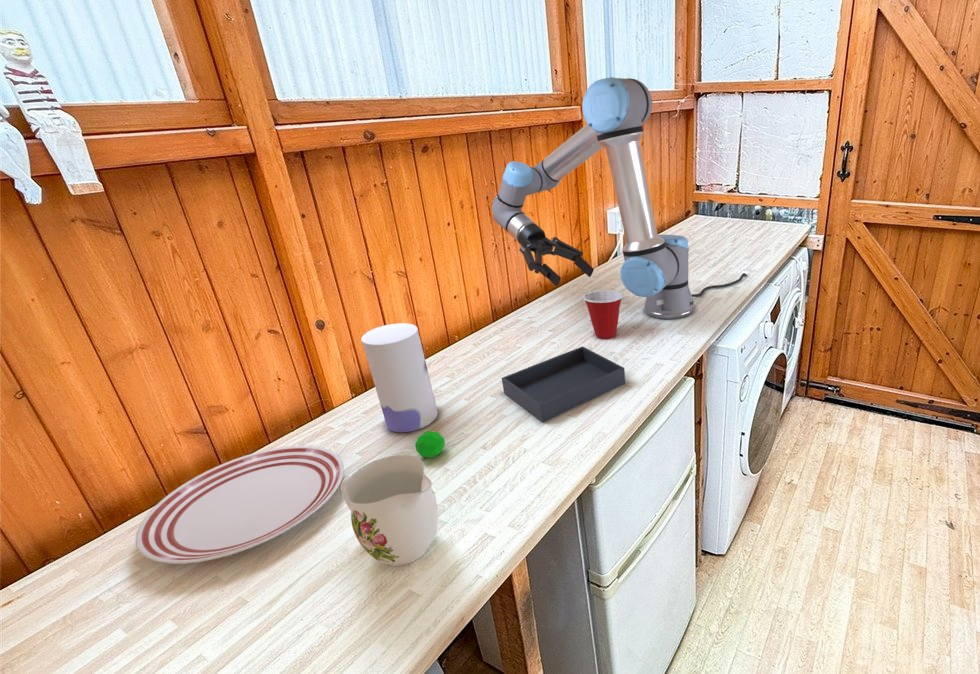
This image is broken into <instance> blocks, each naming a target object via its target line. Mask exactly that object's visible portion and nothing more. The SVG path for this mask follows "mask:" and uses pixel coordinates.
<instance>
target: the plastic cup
mask: <svg viewBox="0 0 980 674" xmlns="http://www.w3.org/2000/svg"><path fill="white" fill-rule="evenodd" d="M623 297H624V293H622V292H621V291H619V290H618V291H617V290H610V289H609V290H608V289H606V290H595V291H590V292H587V293H585V294H583V296H582V299H583V300H584V302H585V305H586V308H587V310H588V314H589V318H590V322H591V326H592V328H593V332H594V336H595V337H596V338H597V339H600V340H610V339H613V338H615V337H616V336H617V333H618V332H617V331H618V324H619V316H620V308H621V303H622V299H623Z"/></svg>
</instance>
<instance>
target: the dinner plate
mask: <svg viewBox="0 0 980 674" xmlns="http://www.w3.org/2000/svg"><path fill="white" fill-rule="evenodd" d="M344 467H345V466H344V463H343V460H342V459H341V458H340V456H339V455H338V454H336V453H335V452H334V451H332V450H330V449H327V448H325V447H320V446H313V445H289V446H280V447H274V448H270V449H264V450H261V451H256V452H253V453H250V454H247V455H243V456H241V457H237V458H235V459H232V460H229V461H227V462H224V463H222V464H219V465H217V466H215V467H212V468H211V469H208V470H206V471H205V472H202V473H200V474H199V475H197V476H194V477H193V478H191V479H190V480H188V481H186V482H185V483H183V484H181V485H179V486H178V487H177V488H176V489H174V490H172V491H171V492H169V494H167V495H166V496H165V497H164V498H162V499H161V500H160V501H159V502H157V503H156V504H155V505H154V506H153V507H152V508H151V510H150V511H149V512H148V513H147V514H145V515H146V516H145V517H144V518H143V519H142V521H141V523H140V524H139V526H138V528H137V531H136V535H135V545H136V548H137V550H138V552H139V553H140V554H141V555H142V556H143V557H145V558H147V559H148V560H151V561H153V562H157V563H162V564H169V565H183V564H185V565H186V564H196V563H201V562H208V561H213V560H217V559H221V558H225V557H228V556H232V555H235V554H239V553H241V552H243V551H247V550H249V549H252V548H254V547H257V546H260V545H262V544H263V543H266V542H268V541H271V540H273V539H274V538H276V537H278V536H280V535H282V534H284V533H286V532H287V531H289V530H291V529H292V528H294V527H295V526H297V525H299V524H300V523H301V522H303V521H305V520H306V519H307V518H308V517H310V516H312V515H313V514H314V513H316V512H317V511H318V510H319V509H320V508H321V507H323V506H324V505H325V504H326V503H327V502H328V501H329V500H330V499H331V498H332V496H333V495H334V494H335V492H336V491H337V489H338V488H339V486H340V485H341V483H342V481H343V477H344V472H345V468H344Z"/></svg>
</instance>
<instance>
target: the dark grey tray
mask: <svg viewBox="0 0 980 674" xmlns="http://www.w3.org/2000/svg"><path fill="white" fill-rule="evenodd" d="M501 383H502V389H503V394H504V395H505V396H507V397H508V398H509V399H511V400H512V401H513V402H514V403H516V404H517V405H518V406H520V407H521V408H523V409H524V410H525V411H526V412H528V413H529V414H531V416H533V417H534V418H536V419H537V420H538V421H540V422H541V423H545V422H547V421H549V420H550V419H553V418H556V417H557V416H559V415H561V414H563V413H566V412H567V411H570V410H572V409H574V408H576V407H578V406H580V405H583V404H585V403H587V402H589V401H591V400H593V399H596V398H597V397H600V396H602V395H604V394H606V393H608V392H610V391H612V390H615V389H616V388H618V387H620V386H624V385H625V384H626V373H625V367H624V366H622V365H620V364H617V363H616V362H614V361H611V360H610V359H609V358H606V357H604V356H602V355H601V354H598V353H597V352H594V351H592V350H590V349H589V348H587V347H585V346H579V347H577V348H574V349H572V350H569V351H566V352H563V353H561V354H559V355H557V356H554V357H552V358H549V359H547V360H544V361H541V362H539V363H536V364H533V365H532V366H529V367H526V368H523V369H521V370H518V371H516V372H513V373H511V374H507V375H505V376H503V377H501Z"/></svg>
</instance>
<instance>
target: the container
mask: <svg viewBox="0 0 980 674" xmlns="http://www.w3.org/2000/svg"><path fill="white" fill-rule="evenodd" d="M360 339H361V344H362V348H363V351H364V354H365V358H366V360H367V364H368V367H369V371H370V375H371V378H372V381H373V385H374V388H375V390H376V395H377V398H378V401H379V404H380V408H381V412H382V415H383V418H384V421H385V425H386V427H387V429H388V430H390V431H391V432H394V433H410V432H414V431H418V430H421V429H423V428H425V427H427V426H429V425H430V424H431V423H433V422H434V421H435V420H436V419H437V417H438V415H439V410H438V407H437V403H436V399H435V394H434V390H433V387H432V382H431V378H430V374H429V371H428V370H429V369H428V366H427V363H426V359H425V353H424V350H423V345H422V341H421V337H420V334H419V329H418V326H416V325H415V324H412V323H406V322H403V323H402V322H398V323H390V324H385V325H380V326H377V327H375V328H372V329H370V330H369V331H367V332H365V333H364V334H363V335H362V337H361V338H360Z"/></svg>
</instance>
